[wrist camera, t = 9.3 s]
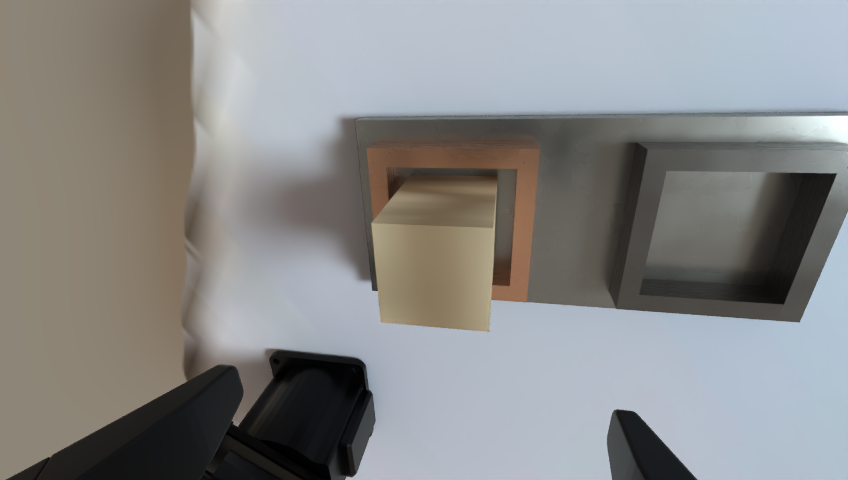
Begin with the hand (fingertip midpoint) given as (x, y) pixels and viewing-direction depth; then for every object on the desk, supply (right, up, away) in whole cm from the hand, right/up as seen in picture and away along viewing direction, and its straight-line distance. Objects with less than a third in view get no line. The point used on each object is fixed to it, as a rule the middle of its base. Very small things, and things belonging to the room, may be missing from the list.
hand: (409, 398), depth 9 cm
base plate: (+7, +5, +10) cm, 13 cm away
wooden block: (+2, +5, +10) cm, 11 cm away
